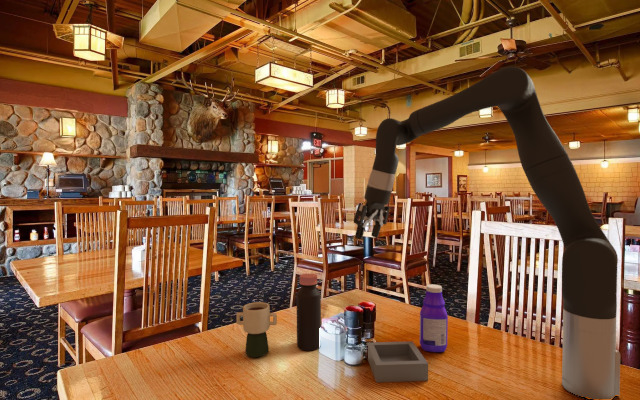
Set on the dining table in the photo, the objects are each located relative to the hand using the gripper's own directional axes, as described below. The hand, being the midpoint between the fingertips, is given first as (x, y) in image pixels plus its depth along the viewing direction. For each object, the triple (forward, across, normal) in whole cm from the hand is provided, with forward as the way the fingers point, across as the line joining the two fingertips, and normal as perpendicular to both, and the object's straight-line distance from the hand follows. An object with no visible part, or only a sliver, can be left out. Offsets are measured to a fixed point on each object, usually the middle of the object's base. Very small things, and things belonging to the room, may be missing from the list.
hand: (366, 237), depth 112 cm
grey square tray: (+24, -13, -26) cm, 38 cm away
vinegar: (+31, -18, -2) cm, 36 cm away
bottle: (+23, +3, -28) cm, 36 cm away
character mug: (+33, -31, +4) cm, 46 cm away
